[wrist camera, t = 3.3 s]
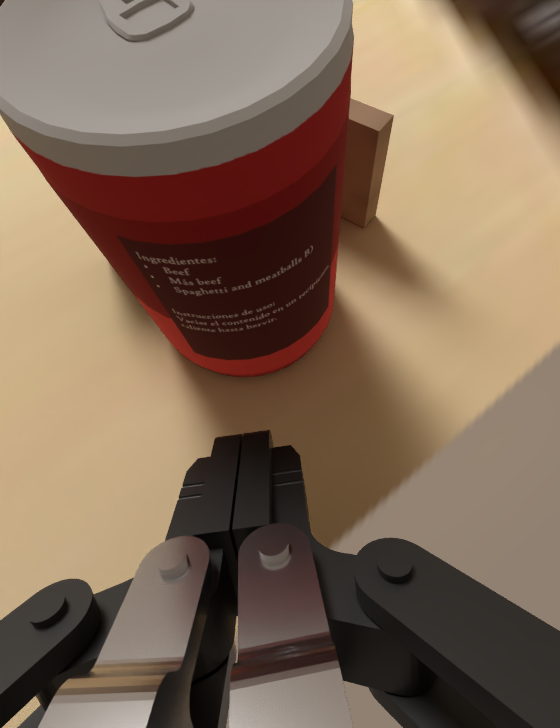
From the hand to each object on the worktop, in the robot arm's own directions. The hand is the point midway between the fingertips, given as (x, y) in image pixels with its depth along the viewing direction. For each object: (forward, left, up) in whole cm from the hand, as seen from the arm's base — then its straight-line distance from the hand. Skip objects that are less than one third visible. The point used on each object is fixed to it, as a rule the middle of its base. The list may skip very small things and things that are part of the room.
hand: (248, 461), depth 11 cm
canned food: (0, +8, -4) cm, 9 cm away
